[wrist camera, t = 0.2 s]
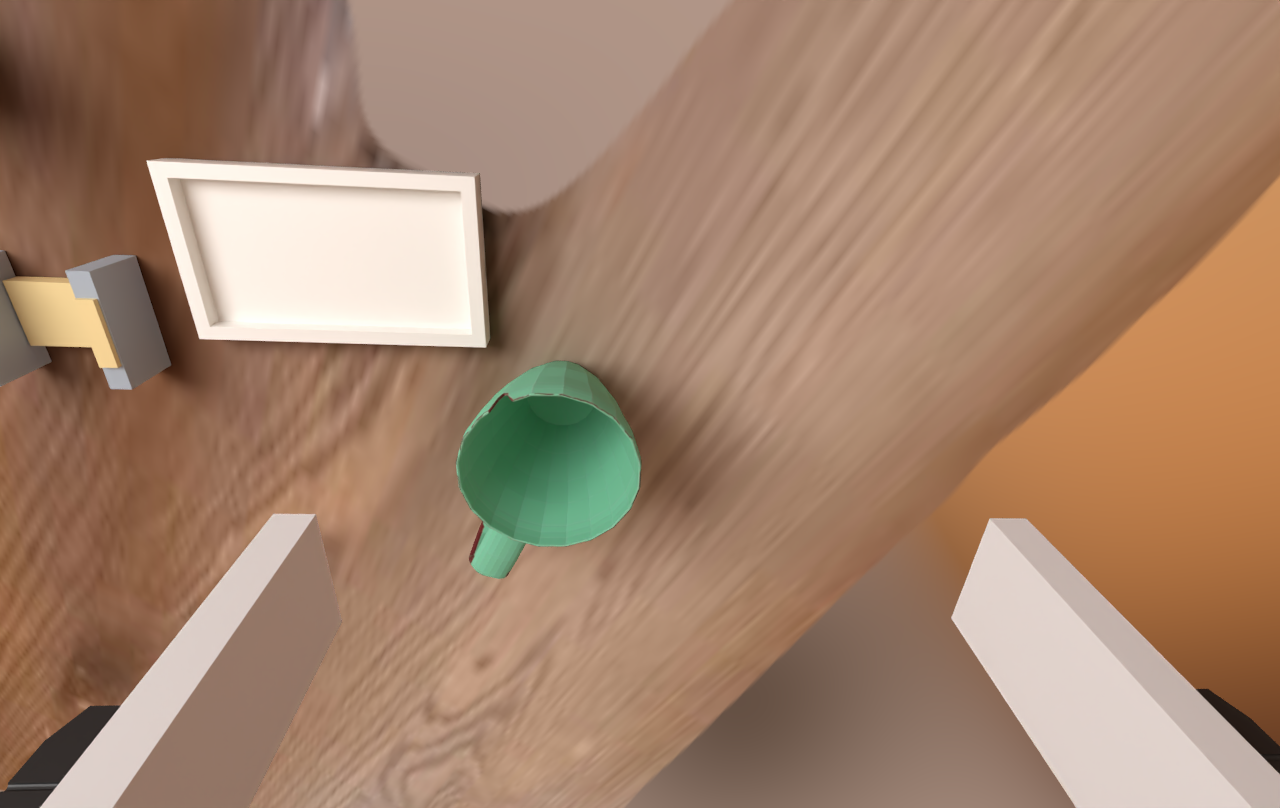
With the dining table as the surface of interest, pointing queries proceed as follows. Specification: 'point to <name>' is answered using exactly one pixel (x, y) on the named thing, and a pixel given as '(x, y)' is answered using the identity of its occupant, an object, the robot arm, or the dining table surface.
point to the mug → (546, 465)
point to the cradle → (81, 320)
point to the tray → (327, 252)
